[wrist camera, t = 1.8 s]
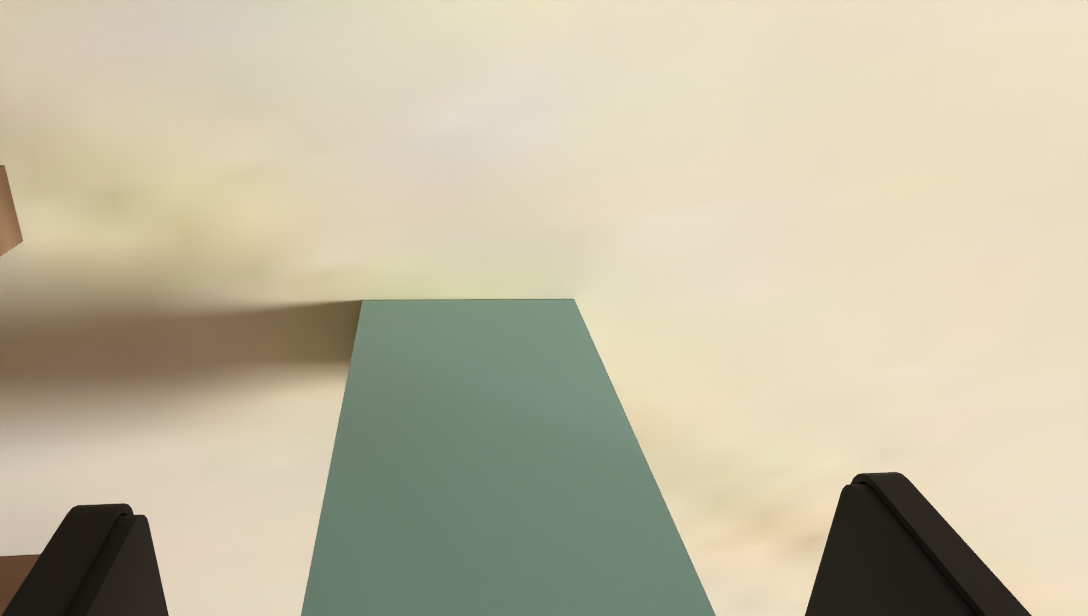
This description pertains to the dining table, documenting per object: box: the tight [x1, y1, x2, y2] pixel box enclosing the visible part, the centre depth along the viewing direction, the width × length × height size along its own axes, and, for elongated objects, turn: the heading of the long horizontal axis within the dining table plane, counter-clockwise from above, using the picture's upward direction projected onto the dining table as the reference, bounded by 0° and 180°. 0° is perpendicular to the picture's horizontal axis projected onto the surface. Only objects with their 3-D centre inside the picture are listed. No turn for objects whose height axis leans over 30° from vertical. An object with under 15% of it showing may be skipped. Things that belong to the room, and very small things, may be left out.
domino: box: [301, 299, 716, 616], centre depth 13 cm, size 2×5×10 cm, turn 87°
